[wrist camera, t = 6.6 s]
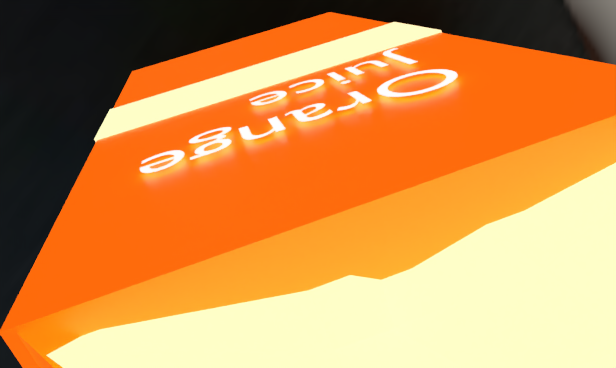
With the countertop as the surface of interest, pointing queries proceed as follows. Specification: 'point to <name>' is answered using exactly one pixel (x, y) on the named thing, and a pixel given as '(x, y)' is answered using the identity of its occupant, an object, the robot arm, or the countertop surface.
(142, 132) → the orange juice
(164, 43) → the countertop surface
